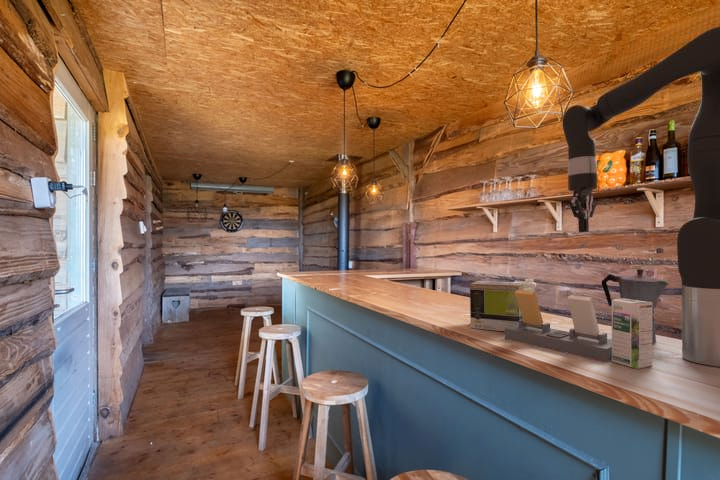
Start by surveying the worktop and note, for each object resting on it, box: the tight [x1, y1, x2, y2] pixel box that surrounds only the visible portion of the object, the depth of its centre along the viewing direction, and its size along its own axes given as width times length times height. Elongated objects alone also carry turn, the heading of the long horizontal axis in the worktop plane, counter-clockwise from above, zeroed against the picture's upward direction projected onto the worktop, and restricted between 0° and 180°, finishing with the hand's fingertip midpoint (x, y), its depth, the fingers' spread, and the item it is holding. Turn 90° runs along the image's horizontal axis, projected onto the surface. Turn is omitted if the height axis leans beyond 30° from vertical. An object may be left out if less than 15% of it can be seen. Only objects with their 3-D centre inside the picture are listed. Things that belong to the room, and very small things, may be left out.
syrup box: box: [611, 298, 653, 370], centre depth 85 cm, size 6×6×14 cm
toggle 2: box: [567, 294, 600, 340], centre depth 93 cm, size 5×2×12 cm, turn 36°
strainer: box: [519, 278, 537, 293], centre depth 127 cm, size 7×7×15 cm
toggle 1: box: [515, 290, 544, 329], centre depth 104 cm, size 5×2×12 cm, turn 36°
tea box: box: [469, 280, 525, 332], centre depth 121 cm, size 15×10×15 cm, turn 58°
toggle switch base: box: [504, 319, 612, 363], centre depth 100 cm, size 26×10×5 cm, turn 36°
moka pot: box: [601, 268, 670, 345], centre depth 105 cm, size 10×15×20 cm, turn 53°
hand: (583, 232), depth 111 cm, fingers closed
